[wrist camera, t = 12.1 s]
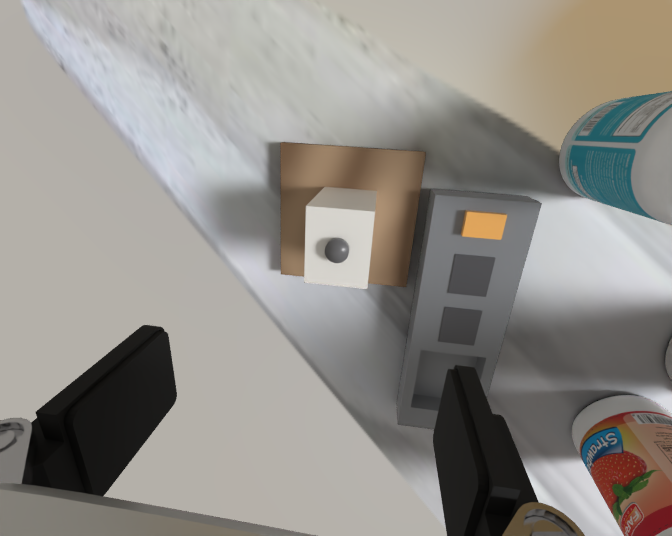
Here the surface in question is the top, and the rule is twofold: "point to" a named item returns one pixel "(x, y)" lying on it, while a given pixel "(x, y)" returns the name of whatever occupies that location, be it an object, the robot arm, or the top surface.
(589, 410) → the fruit juice
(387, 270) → the walnut mat
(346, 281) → the block
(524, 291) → the top surface
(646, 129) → the pill bottle
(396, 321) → the top surface
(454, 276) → the power strip
